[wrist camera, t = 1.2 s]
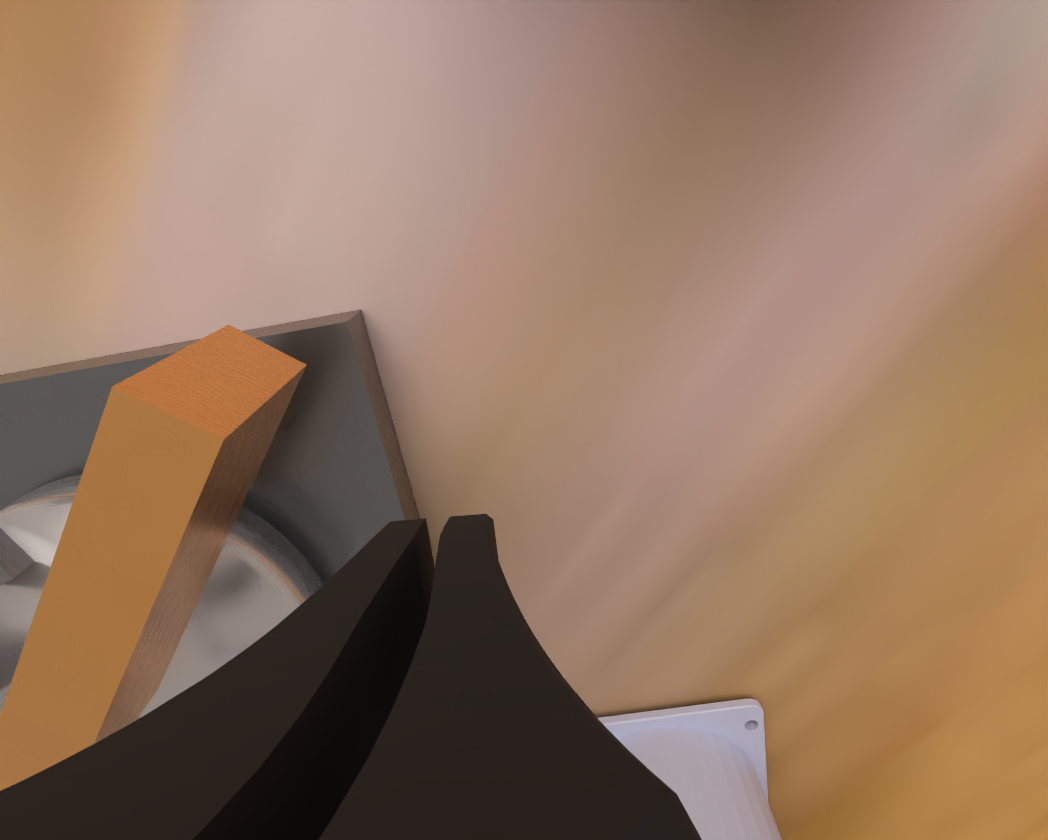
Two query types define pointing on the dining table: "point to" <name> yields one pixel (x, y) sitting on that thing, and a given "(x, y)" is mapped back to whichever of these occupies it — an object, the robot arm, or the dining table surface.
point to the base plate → (291, 460)
